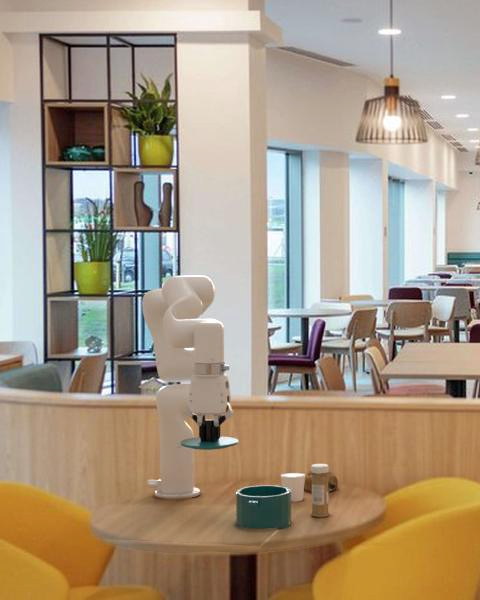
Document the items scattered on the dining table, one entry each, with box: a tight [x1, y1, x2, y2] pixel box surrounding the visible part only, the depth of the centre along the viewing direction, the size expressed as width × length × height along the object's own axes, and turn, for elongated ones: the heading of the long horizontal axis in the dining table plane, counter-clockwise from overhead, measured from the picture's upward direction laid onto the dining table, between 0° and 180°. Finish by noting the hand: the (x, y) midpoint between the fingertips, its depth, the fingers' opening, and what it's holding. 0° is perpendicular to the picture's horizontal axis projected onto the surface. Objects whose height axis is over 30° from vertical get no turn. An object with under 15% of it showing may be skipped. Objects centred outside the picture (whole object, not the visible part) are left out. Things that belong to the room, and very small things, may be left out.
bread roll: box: [304, 469, 339, 493], centre depth 311 cm, size 10×10×8 cm
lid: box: [181, 418, 239, 451], centre depth 273 cm, size 15×15×7 cm
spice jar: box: [310, 463, 330, 518], centre depth 279 cm, size 5×5×14 cm
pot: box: [235, 484, 292, 530], centre depth 270 cm, size 14×19×8 cm
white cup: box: [280, 472, 306, 503], centre depth 298 cm, size 7×7×7 cm
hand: (209, 440), depth 273 cm, fingers closed on lid, 2 cm apart
